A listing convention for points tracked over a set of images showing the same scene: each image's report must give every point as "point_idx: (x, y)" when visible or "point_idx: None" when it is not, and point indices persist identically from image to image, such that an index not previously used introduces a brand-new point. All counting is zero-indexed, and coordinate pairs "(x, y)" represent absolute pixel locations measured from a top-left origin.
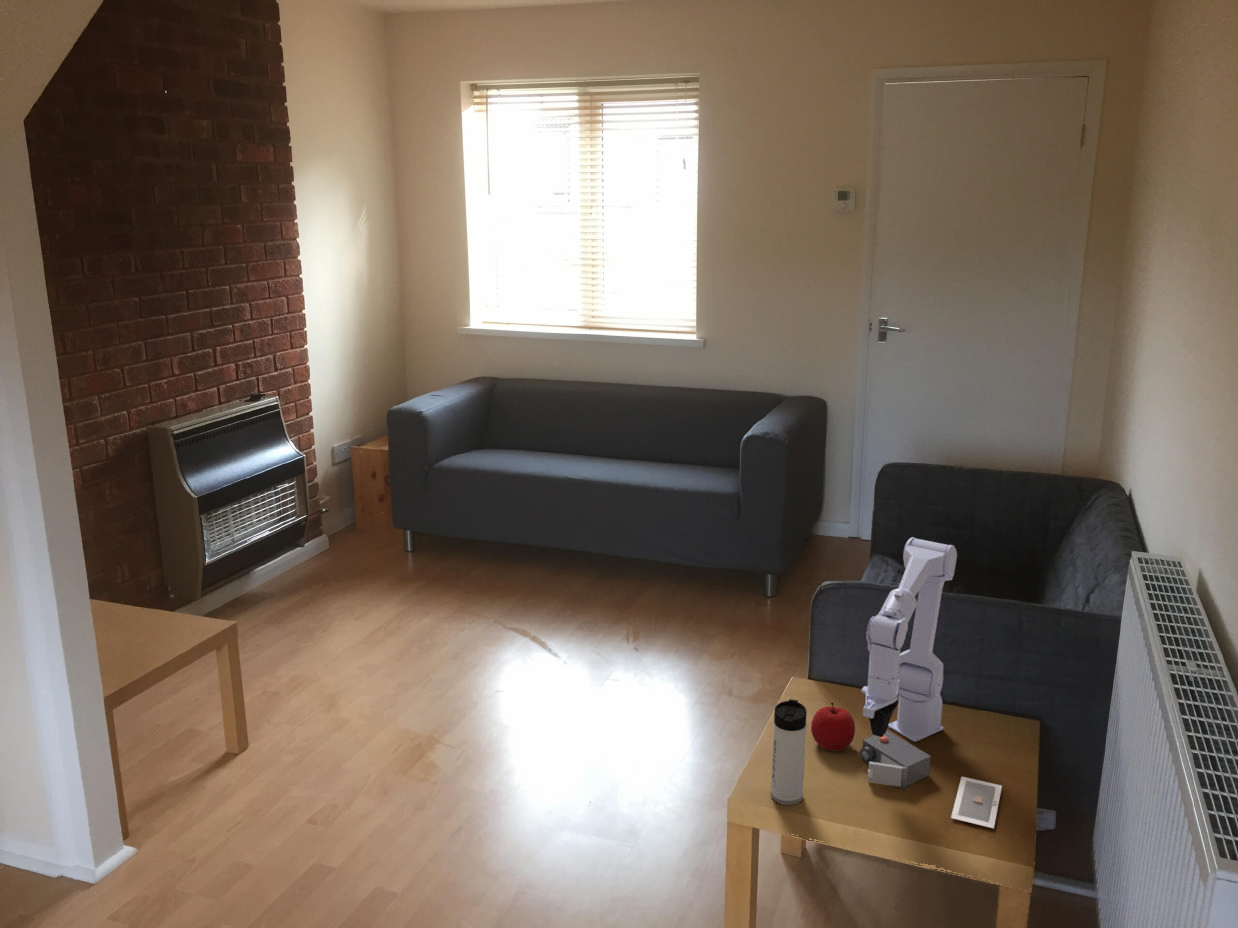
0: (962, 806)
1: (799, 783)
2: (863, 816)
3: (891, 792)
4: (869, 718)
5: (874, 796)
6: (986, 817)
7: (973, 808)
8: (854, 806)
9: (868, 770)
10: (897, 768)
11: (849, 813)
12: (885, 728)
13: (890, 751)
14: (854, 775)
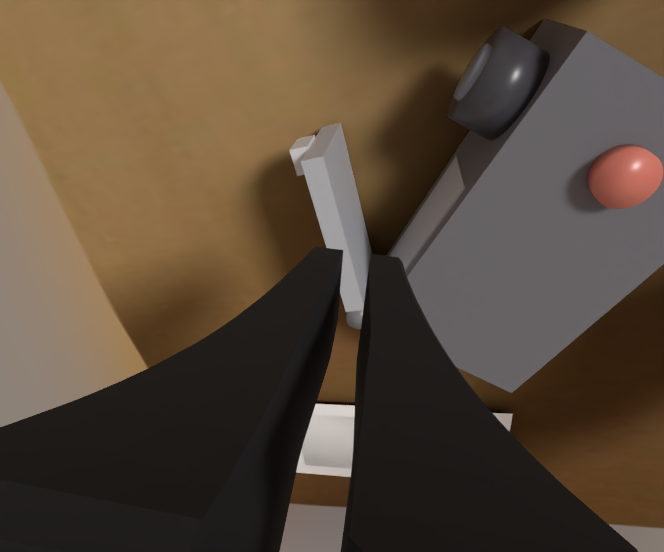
0: (339, 420)
1: None
2: (102, 174)
3: (312, 230)
4: (209, 338)
5: (246, 178)
6: (323, 460)
7: (346, 440)
8: (130, 122)
9: (295, 151)
10: (341, 291)
11: (76, 118)
12: (318, 388)
13: (486, 236)
14: (356, 37)
